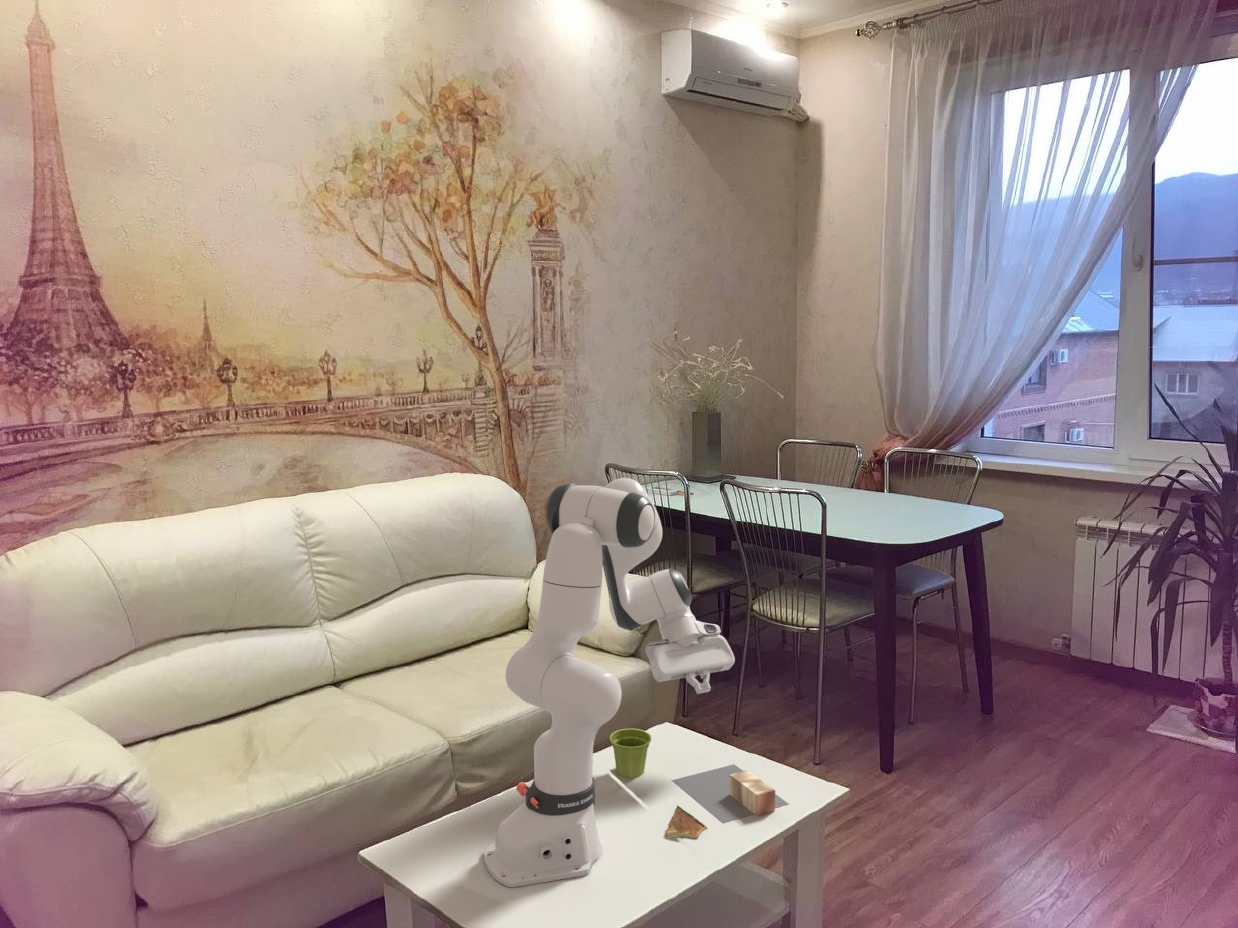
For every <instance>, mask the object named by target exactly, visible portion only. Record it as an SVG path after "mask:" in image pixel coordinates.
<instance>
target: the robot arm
mask: <svg viewBox="0 0 1238 928" xmlns="http://www.w3.org/2000/svg"><path fill="white" fill-rule="evenodd" d="M545 504H546V505H545V520H546V522H547V526H548V528H549V530H550V532H551V534H552V535H551V538H550V541H549V545H548V548H547V552H546V557H545V561H544V562H545V563H544V568H543V576H542V586H541V594H540V595H541V596H540V602H539V610H538V615H537V621H536V623H535V627H534V629H533V630H532V631H533V632H532V634H531V636H530V638H529V639H528V640H527V642H526V643H525V644H524V645H523V646H522V647H521V648H519V649H518V650H516V651H515V652H514V653H513V655H511V657H510V659H509V661H508V662H507V666H506V669H505V682H506V686H507V687H508V688H509V691H510V692H512V693H513V694H514V695H516V696H517V697H518V698H519V699H520V700H522V701H523V702H525V703H526V704H529V705H532V706H535V707H537V708H539V709H542V710H544V711H547V712H549V713H550V715H551V719H552V721H551V727H550V729H547V730H545V731H544V732H543V733H542V734H541V735H540V736H539V737H538V738H537V740H536V741H535V743H534V746H533V756H534V757H533V761H534V763H533V765H534V768H533V770H534V771H533V772H534V774H533V775H534V779H533V781H532V782H531V785H530V786H528V785H527V783H525V782H524V781H522V782H519V783H518V784H517V785H516V788H515V789H516V791H517V793H519V795H520V796H522V797H525V801H524V802H523V803H522V804H521V805H520V806H519V807H517V808H516V809H515V810H514V811H513V812H512V813H511V814H510V815H509V816H508V817H506V818H505V819H504V820H503V821H502V822H500V824H499V826H498V827H497V832H496V836H495V842H494V843H492V844H490V845H487V846H486V847H485V849H484V851H483V862H484V863H483V864H484V866H485V868H486V869H487V872H488V873H489V874H490V876H492V877H493V879H494V880H496V881H497V882H498V883H500V884H502V885H504V886H506V887H510V888H517V887H522V886H528V885H535V884H541V883H546V882H552V881H558V880H565V879H570V878H576V877H583V876H586V875H588V874H589V873H590V871H591V869H592V865H593V864H594V863H595V862H596V861H597V860H598V859H599V857H600V856H601V854H602V850H603V846H602V843H601V841H600V838H599V834H598V833H599V832H598V827H597V823H596V817H595V816H596V815H595V805H596V785H595V784H596V783H595V778H594V777H593V762H594V760H593V757H594V745H595V739H596V736H597V733H598V731H599V730H600V729H601V727H602V726H603V725H605V724H607V723H608V722H609V721H610V720H612V719H613V718H614V716H615V715H616V713H617V712H618V710H619V709H620V705H621V702H622V695H623V694H622V686H621V683H620V680H619V679H618V678H617V677H616V675H614V674H613V673H611V672H610V671H609V670H607V669H605V668H604V667H602V666H601V665H600V664H597V663H594V662H590V661H587V660H585V659H581V658H578V657H576V656H575V651H576V648H577V645H578V642H579V640H580V639H581V637H583V636H584V637H585V636H586V635H588V634H589V633H592V631H593V630H594V629H595V628H596V627H597V625H598V622H599V614H600V606H601V605H600V604H601V593H602V585H603V583H602V582H603V572H604V577H605V582H606V587H607V591H608V592H607V593H608V599H609V600H608V605H609V606H608V607H609V611H610V615H611V617H612V620H613V621H614V623H615V624H616V625H617V626H618V627H619V628H621V629H623V630H626V631H630V632H633V631H634V630H637V629H638V628H640V627H643V626H644V625H646V624H648V623H651V622H652V621H653V622H654V621H655V620H656V621H657V622H658V625H659V632H660V635H661V637H662V639H660V640H657V641H649V642H648V644H646V646H645V649H644V651H645V653H646V657H647V658H648V659H649V664H650V665H649V666H650V670H651V673H652V676H653V679H654V680H655V681H657V683H662V682H667V681H668V682H669V681H672V680H673V681H675V680H679V679H683V678H684V679H686V681H687V683H688V684H690V685H691V687H693V688H694V689H695V692H696V694H697V695H700V694H704V693H708V692H709V693H710V691H711V689H712V687H711V685H710V677H711V676H710V675H711V673H712V674H713V673H718V672H725V671H729V670H730V669H731V668H732V667H733V665H735V663H736V662H735V661H736V658H735V655H734V652H733V651H732V648H731V646H730V645H729V642H728V640H727V639H726V638H725V637H724V636H723V635H721V634H720V633H722V631H721V627H720V626H719V625H718V624H715V623H707V622H702V621H700V620H697V619H696V617H695V614H693V613H692V611H691V608H690V606H691V603H692V600H693V598H694V597H693V594H692V593H691V591H690V589H689V587H688V584H687V580H686V577H685V575H684V574H683V573H682V572H680V571H678V570H676V569H673V568H671V567H669V568H667V569H663V570H659V571H655V572H654V573H651V574H650V575H648V576H646V577H644V578H641V579H639V580H636V581H634V582H631V583H629V584H626V580H625V577H626V575H627V574H628V573H629V572H630V571H632V569H634V568H635V567H636V566H638V565H640V563H641V564H642V562H644V561H645V560H647V559H649V558H650V557H651V556H652V555H653V554H654V553H655V552H656V551H657V550H658V548H659V547H660V544H661V542H662V539H663V526H662V521H661V519H660V515H659V512H658V511H657V508H656V506H655V504H654V502H653V500H652V499H651V497H650V496H649V494H648V492H647V491H646V490H645V489H644V487H643V486H642V484H641V483H639V482H638V481H637V480H635V479H632V478H630V477H629V478H628V477H620V478H616V479H614V480H612V481H610V482H609V483H607V484H606V485H605V486H601V485H589V484H587V485H585V484H584V485H583V484H582V485H581V484H580V485H579V484H576V483H568V484H561V485H558V486H557V487H555V488H554V490H553V491H552V492H551V493H550V494H549V496H548V499H547V501H546V503H545ZM696 676H699V677H700V679H702V680H703V681H702V682H699V680H697V678H696Z"/></svg>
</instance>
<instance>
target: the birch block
mask: <svg viewBox="0 0 1238 928" xmlns="http://www.w3.org/2000/svg"><path fill="white" fill-rule="evenodd" d="M775 794H776V789H775V788H773V787H772V786H770V785H769V784H768V783H766V782H764V781H763V780H762V779H761V778H759V777H758V776H757V775H755V774H753V773H752V772H751V771H750V770H743V771H742V772H738V773H734V774H730V795H731V796H732V797H733V798H735V799H736V800H737V801H739V802H740V803H741V804H742V805H744V806H745V807H746V808H748V809H749V810H750V811H751V812H753V813H754V815H755V816H760V815H764V814H768V813H771V812H775V811H776V808H775Z"/></svg>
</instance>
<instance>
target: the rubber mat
mask: <svg viewBox="0 0 1238 928" xmlns="http://www.w3.org/2000/svg"><path fill="white" fill-rule="evenodd" d="M742 771H744V770H743V769H742V768H740V767H739V766H737V765H736V764H730V765H726V766H723V767H719V768H715V769H710V770H706V771H702V772H699V773H695V774H692V775H687V776H683V777H682V776H681V777H679V778H675V779H671V782H673V783H674V784H675V785H677V786H678V787H679V788H680V789H681V790H682V791H683V792H685V793H686V794H687V795H688V796H689V797H691V798H692V799H693V800H695V802H697V803H698V804H699V805H701V807H702V808H704V809H705V810H706V811H707V812H709V813H710V814H711V815H712V816H714V817H715V818H716V819H717V820H718V821H719V822H721V823H722V824H726V823H730V822H733V821H736V820H739V819H743V818H747V817H750V816H754V815H755V814H754V813H753V812H751V811H750V810H749V809H748V808H746V807H745V806H744V805H742V804H741V803H740V802H739V801H737V800H736V799H735V798H733V797H732V796H731V795H730V774H734V773H738V772H742ZM788 805H790V803H789V802H787V801H786V800H784V799H783V798H782V797H780V796H779V795H777V794H776V793H775V809H778V808H781V807H784V806H788Z"/></svg>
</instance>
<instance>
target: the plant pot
mask: <svg viewBox="0 0 1238 928" xmlns="http://www.w3.org/2000/svg"><path fill="white" fill-rule="evenodd" d="M609 741H610V743H611V745H612V748H613V753H614V754H613V756H614V761H615V769H616V774H617V775H619V776H620V777H623V778H628V779H632V778H633V779H634V778H638V777H641V776H642V775H643V774H644V773H645V770H646V769H645V768H646V762H647V756H648V749H649V746H650V743H651V742H652V734H650V733H649V732H648V731H646V730H643V729H639V728H624V729H623V728H622V729H618V730H615V731H614V732H612V733H611V734H610V736H609Z"/></svg>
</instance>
